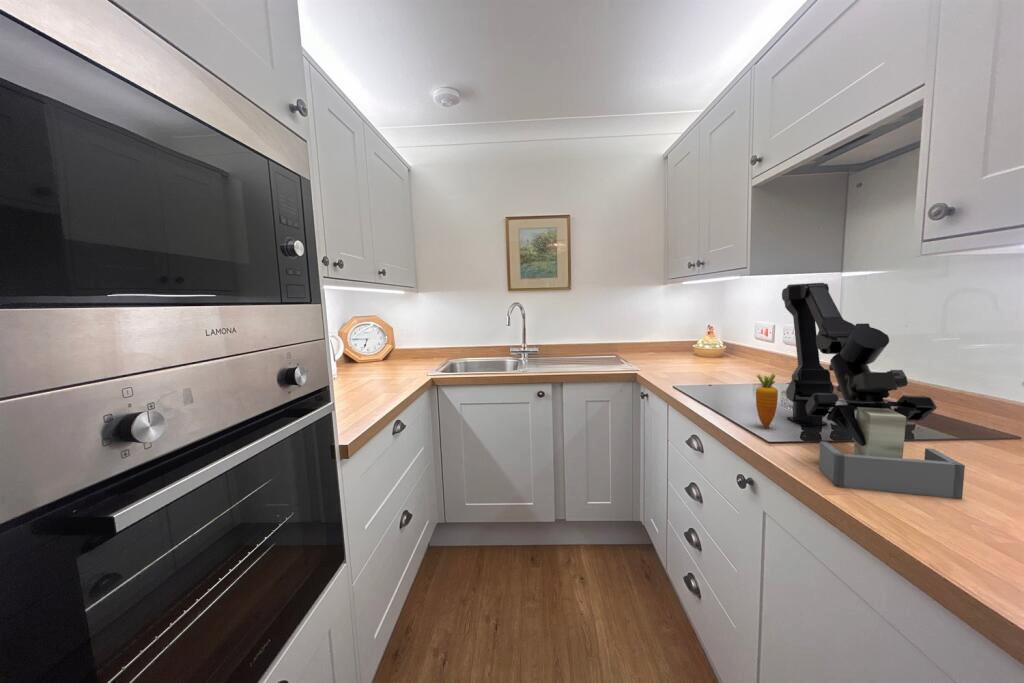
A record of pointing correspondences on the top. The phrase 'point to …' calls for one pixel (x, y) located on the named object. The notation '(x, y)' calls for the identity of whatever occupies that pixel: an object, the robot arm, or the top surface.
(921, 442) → the top surface
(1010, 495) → the top surface
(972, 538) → the top surface
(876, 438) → the sage block
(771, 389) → the carrot
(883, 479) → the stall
